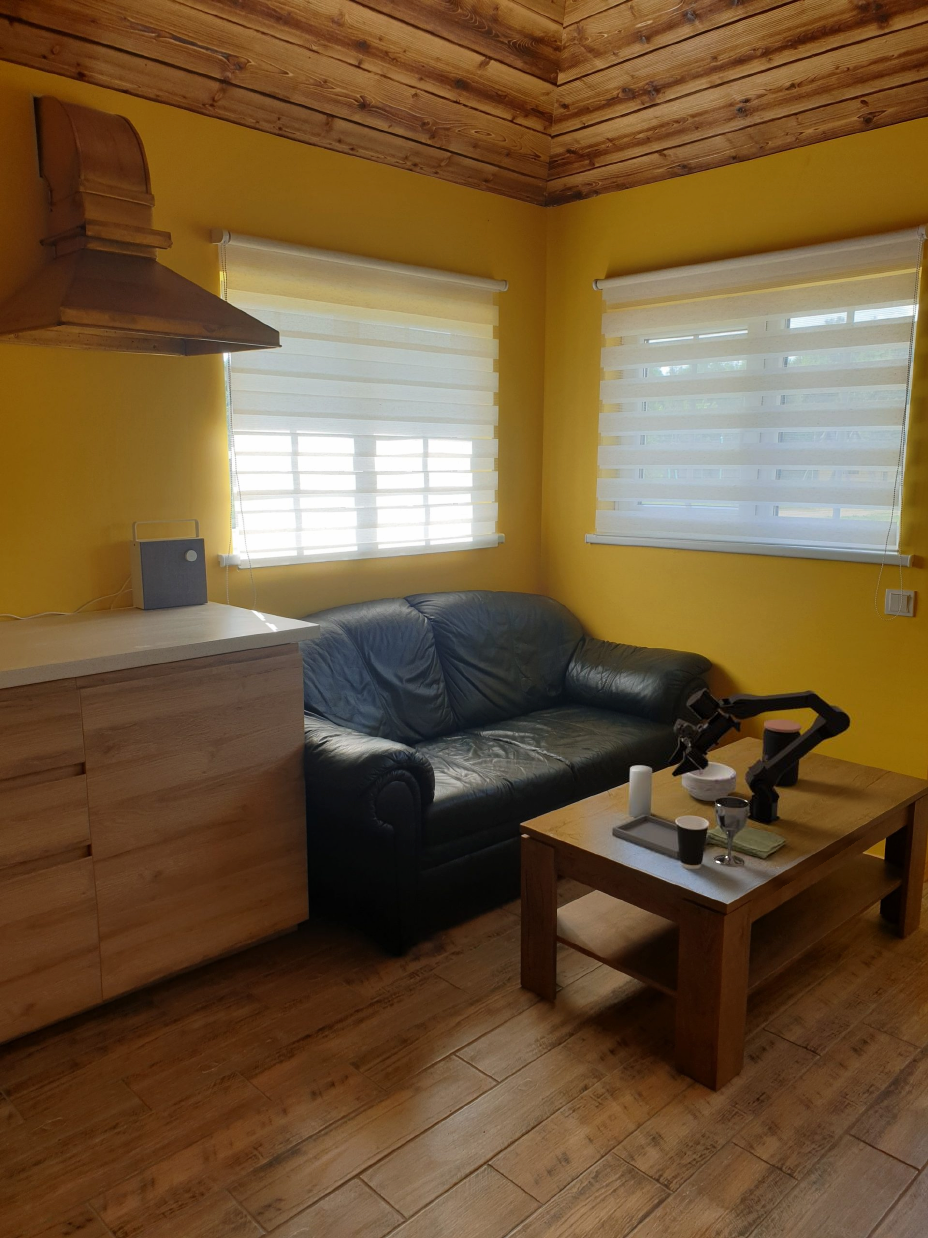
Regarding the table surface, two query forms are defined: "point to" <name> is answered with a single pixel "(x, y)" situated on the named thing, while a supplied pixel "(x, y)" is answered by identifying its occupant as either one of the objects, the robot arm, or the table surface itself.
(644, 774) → the white cylinder
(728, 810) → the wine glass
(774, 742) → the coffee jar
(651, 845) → the tray
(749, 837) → the washcloth
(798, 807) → the table surface
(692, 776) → the paper bowls
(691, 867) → the dixie cup
